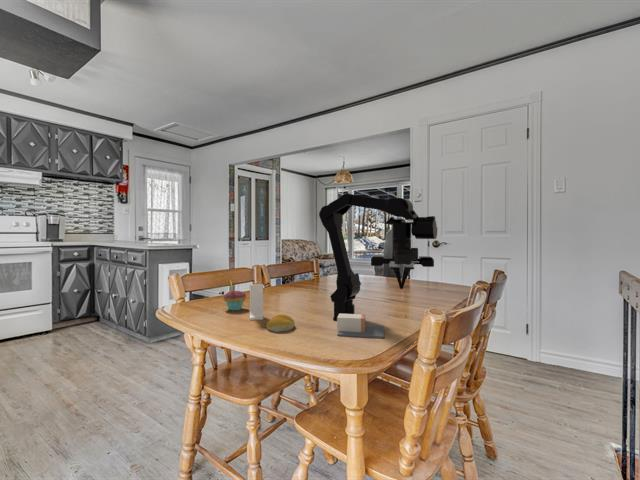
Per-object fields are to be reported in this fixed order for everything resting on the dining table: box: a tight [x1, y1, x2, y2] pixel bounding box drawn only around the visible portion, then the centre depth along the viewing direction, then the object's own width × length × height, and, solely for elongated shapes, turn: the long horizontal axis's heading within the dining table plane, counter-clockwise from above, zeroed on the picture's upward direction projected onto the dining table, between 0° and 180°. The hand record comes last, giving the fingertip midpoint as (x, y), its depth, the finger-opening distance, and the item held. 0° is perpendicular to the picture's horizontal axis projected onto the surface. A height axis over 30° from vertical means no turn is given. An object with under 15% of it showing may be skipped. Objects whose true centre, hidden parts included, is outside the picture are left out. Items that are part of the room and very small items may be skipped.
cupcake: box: [223, 278, 247, 311], centre depth 130 cm, size 9×8×12 cm
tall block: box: [336, 313, 366, 332], centre depth 101 cm, size 4×5×8 cm
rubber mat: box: [337, 324, 385, 339], centre depth 101 cm, size 13×11×1 cm
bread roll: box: [266, 314, 296, 333], centre depth 104 cm, size 8×9×4 cm
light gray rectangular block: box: [249, 283, 264, 321], centre depth 117 cm, size 5×6×12 cm
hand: (401, 288), depth 105 cm, fingers closed
